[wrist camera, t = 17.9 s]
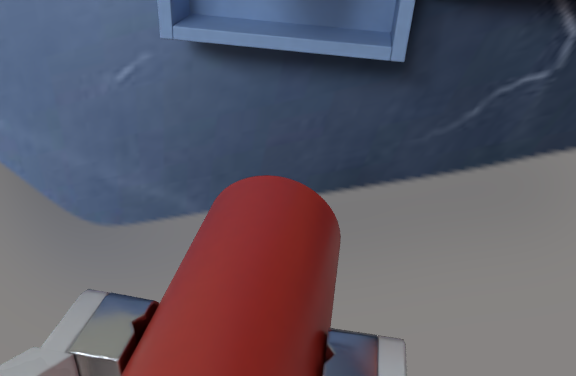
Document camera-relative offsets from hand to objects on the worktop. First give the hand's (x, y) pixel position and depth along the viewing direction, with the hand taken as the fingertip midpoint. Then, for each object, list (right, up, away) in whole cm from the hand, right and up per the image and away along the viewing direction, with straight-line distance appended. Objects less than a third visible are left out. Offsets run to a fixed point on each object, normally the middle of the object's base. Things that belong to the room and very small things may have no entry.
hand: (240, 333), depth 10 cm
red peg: (+1, +2, +3) cm, 4 cm away
